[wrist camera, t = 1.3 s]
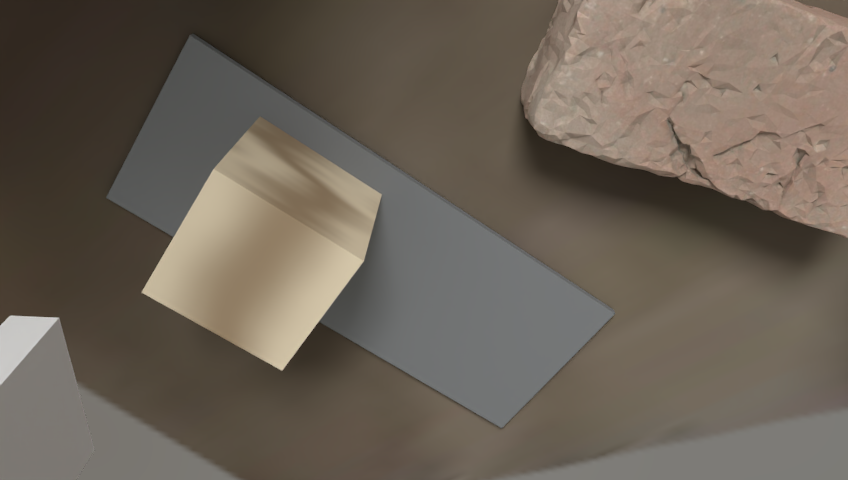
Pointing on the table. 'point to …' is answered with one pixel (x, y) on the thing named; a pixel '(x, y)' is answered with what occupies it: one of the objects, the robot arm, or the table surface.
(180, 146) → the rubber mat
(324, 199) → the beech block
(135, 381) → the table surface
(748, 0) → the brick
